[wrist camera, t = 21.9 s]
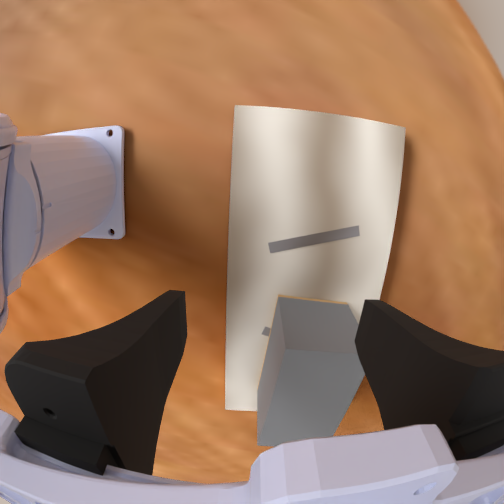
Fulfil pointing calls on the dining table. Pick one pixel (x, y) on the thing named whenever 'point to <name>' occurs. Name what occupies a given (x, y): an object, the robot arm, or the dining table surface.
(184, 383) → the dining table surface
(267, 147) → the cream flat panel
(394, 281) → the dining table surface
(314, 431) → the block
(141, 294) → the dining table surface
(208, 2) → the dining table surface
